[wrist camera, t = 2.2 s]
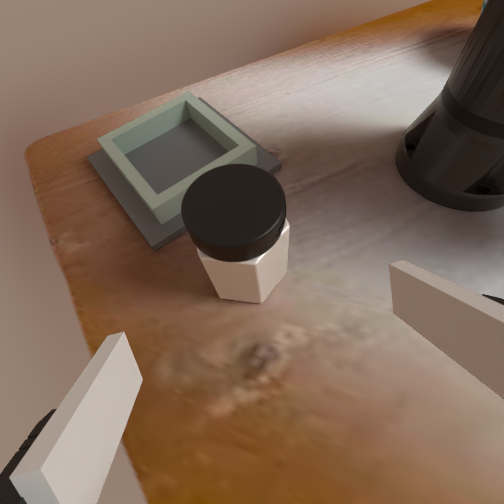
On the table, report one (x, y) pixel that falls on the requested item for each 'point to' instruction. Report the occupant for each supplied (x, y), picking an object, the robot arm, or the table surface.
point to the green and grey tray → (170, 161)
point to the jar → (239, 230)
